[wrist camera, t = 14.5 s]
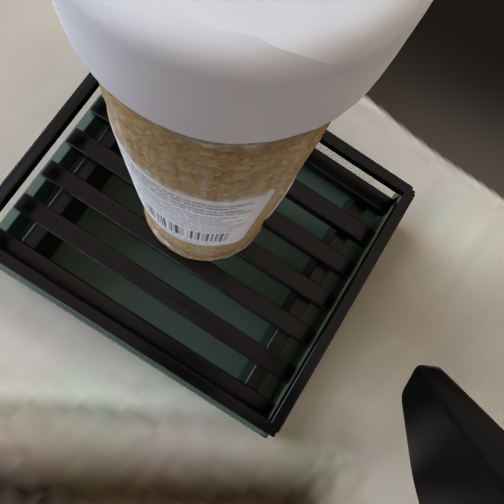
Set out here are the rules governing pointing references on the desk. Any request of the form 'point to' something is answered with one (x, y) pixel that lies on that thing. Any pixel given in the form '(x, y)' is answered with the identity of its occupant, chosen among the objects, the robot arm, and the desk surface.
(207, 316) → the rack
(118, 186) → the drip tray
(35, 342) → the desk surface
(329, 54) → the sprinkles bottle
